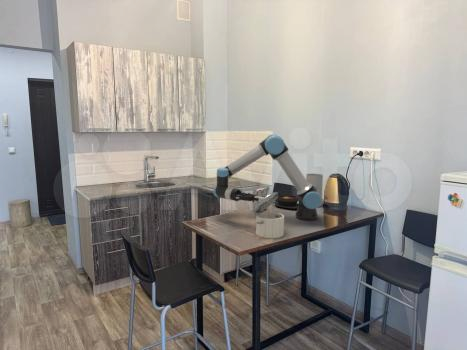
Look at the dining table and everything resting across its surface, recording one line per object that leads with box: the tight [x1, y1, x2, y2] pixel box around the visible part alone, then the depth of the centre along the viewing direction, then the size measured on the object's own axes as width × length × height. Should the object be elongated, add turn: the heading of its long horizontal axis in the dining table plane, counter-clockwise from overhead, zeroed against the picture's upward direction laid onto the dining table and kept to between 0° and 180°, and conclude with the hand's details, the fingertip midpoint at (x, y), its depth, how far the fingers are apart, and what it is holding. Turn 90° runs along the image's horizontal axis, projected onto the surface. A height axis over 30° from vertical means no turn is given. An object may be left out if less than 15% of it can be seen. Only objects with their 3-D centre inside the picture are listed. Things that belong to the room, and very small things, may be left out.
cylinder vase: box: [305, 173, 324, 207], centre depth 265 cm, size 12×12×25 cm
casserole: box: [273, 194, 299, 210], centre depth 262 cm, size 25×19×8 cm
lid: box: [253, 191, 279, 215], centre depth 198 cm, size 18×17×2 cm
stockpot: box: [254, 211, 285, 239], centre depth 198 cm, size 17×23×11 cm
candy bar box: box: [252, 187, 268, 212], centre depth 250 cm, size 11×5×16 cm, turn 137°
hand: (263, 200), depth 198 cm, fingers closed
